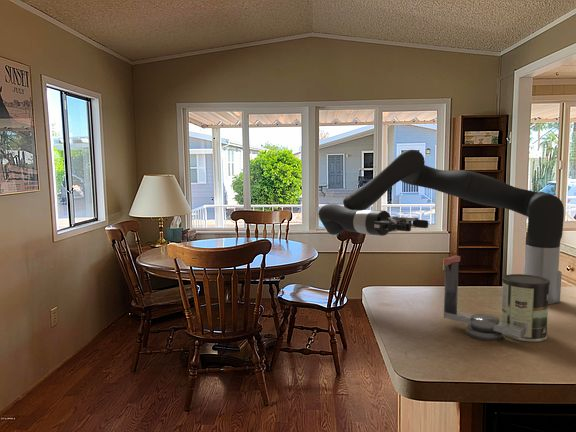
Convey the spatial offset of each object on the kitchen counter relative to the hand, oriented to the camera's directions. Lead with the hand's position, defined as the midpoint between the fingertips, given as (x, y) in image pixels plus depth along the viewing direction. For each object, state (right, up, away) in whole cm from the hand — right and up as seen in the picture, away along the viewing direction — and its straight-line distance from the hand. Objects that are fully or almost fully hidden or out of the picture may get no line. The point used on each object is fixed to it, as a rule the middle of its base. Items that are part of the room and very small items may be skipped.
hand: (419, 225), depth 122 cm
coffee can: (+22, -27, -12) cm, 37 cm away
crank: (+12, -25, -12) cm, 30 cm away
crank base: (+12, -27, -13) cm, 32 cm away
